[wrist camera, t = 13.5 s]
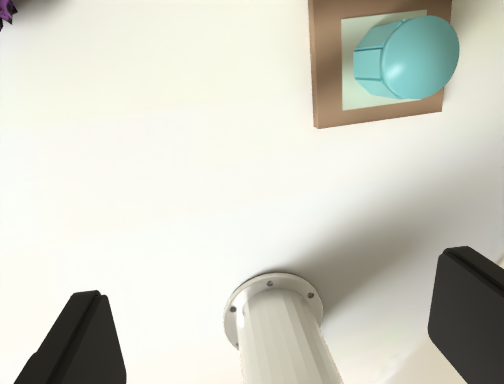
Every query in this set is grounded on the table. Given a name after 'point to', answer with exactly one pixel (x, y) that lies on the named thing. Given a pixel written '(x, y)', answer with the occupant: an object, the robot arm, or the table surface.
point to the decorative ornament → (6, 11)
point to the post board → (341, 59)
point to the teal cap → (407, 58)
